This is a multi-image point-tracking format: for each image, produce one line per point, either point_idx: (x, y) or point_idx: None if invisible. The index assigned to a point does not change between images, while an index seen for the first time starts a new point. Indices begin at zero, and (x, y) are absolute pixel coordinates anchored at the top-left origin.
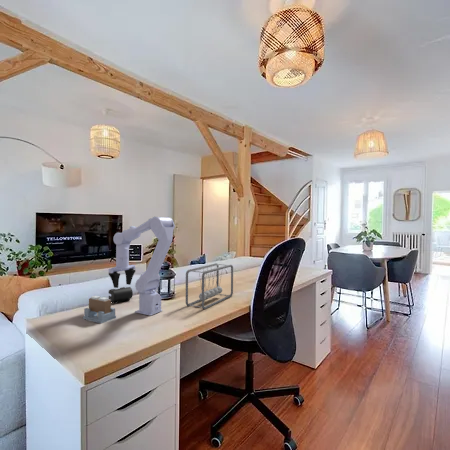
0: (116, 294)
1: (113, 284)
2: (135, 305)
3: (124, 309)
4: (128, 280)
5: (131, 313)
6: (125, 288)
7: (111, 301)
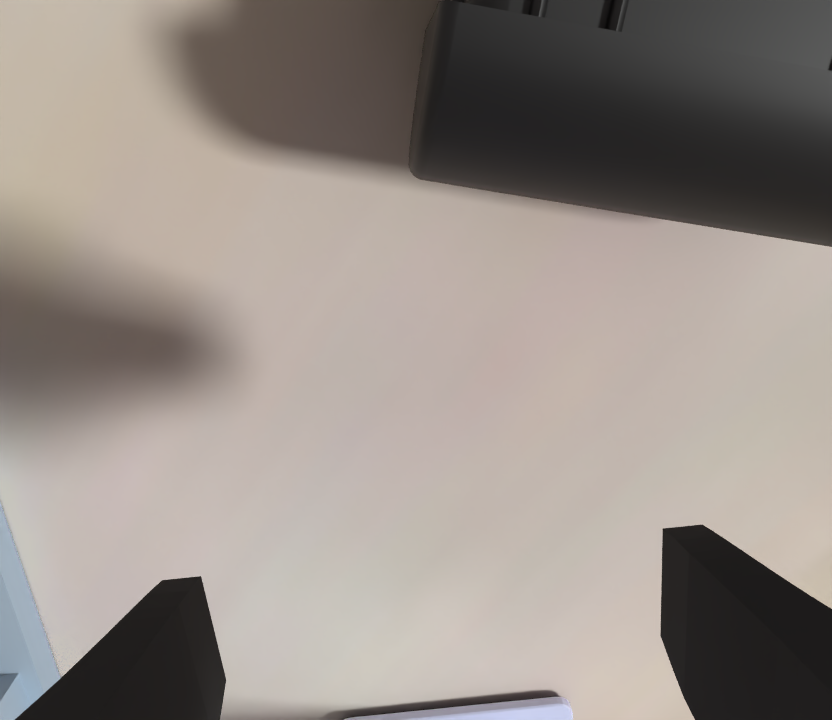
0: (473, 181)
1: (112, 643)
2: (574, 485)
3: (344, 516)
4: (721, 692)
5: (295, 706)
6: (829, 139)
7: (424, 37)
